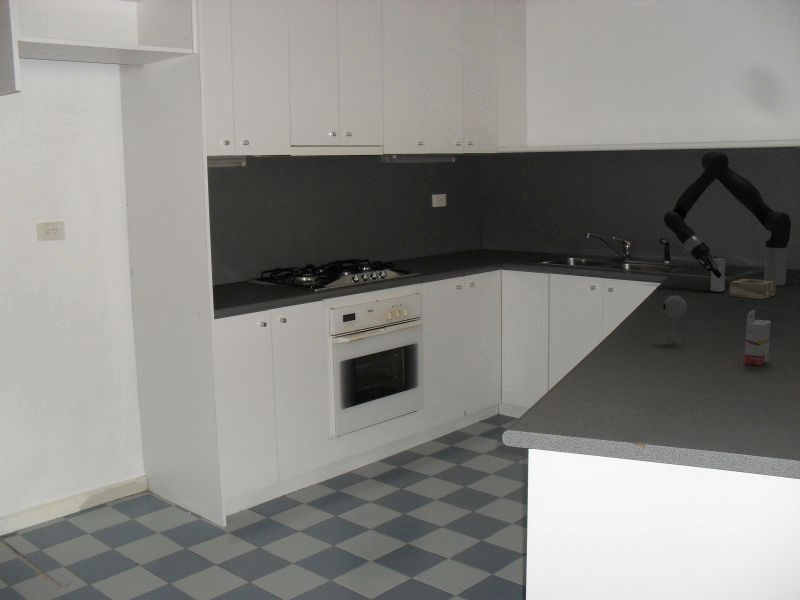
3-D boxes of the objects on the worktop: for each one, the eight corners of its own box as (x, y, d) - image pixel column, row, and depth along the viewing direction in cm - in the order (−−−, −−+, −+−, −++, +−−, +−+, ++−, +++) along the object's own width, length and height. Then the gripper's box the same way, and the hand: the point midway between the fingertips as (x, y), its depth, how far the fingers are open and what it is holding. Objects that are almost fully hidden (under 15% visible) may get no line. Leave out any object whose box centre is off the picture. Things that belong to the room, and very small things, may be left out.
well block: (742, 292, 386) (742, 278, 385) (775, 295, 377) (775, 281, 376) (729, 296, 376) (730, 282, 375) (762, 299, 366) (763, 284, 366)
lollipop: (658, 340, 285) (660, 294, 283) (680, 339, 285) (681, 293, 283) (667, 344, 278) (668, 297, 276) (689, 344, 278) (690, 296, 276)
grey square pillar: (714, 289, 391) (715, 258, 389) (724, 290, 388) (725, 258, 386) (710, 290, 388) (711, 259, 386) (720, 291, 385) (721, 259, 383)
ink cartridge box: (762, 366, 247) (764, 314, 244) (743, 364, 249) (746, 313, 247) (769, 360, 254) (771, 310, 251) (751, 358, 256) (753, 308, 254)
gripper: (695, 242, 385) (722, 272, 379) (709, 240, 395) (735, 269, 389) (683, 254, 389) (709, 283, 383) (697, 251, 400) (722, 280, 393)
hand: (722, 276), depth 386 cm, fingers closed on grey square pillar, 4 cm apart
